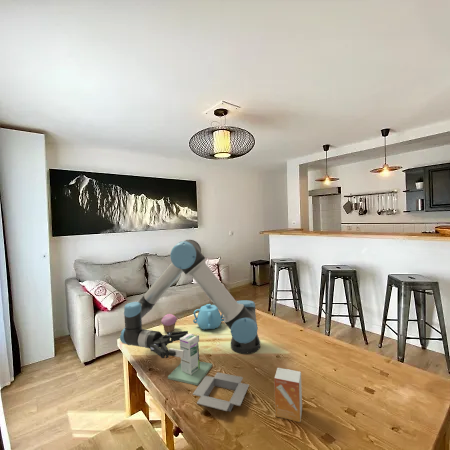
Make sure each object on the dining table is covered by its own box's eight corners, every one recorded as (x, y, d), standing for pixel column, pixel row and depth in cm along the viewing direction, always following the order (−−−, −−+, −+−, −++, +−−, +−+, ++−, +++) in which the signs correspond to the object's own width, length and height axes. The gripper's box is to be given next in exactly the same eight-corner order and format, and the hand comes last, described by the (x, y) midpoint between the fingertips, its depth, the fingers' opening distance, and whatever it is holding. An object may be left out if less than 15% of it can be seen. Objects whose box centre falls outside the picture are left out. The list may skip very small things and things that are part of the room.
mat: (185, 360, 117) (185, 358, 117) (212, 365, 112) (212, 363, 112) (167, 378, 104) (167, 376, 104) (197, 385, 99) (197, 383, 99)
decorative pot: (190, 327, 155) (189, 305, 154) (210, 318, 166) (209, 298, 166) (207, 334, 143) (206, 311, 143) (227, 325, 154) (226, 303, 154)
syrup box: (190, 375, 104) (189, 341, 104) (180, 371, 108) (179, 337, 107) (200, 368, 109) (198, 335, 108) (190, 364, 112) (188, 332, 112)
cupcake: (170, 326, 156) (169, 310, 156) (180, 329, 151) (179, 313, 151) (159, 332, 149) (158, 315, 149) (168, 335, 144) (168, 318, 144)
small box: (275, 417, 82) (273, 377, 82) (278, 403, 88) (277, 366, 88) (301, 423, 79) (299, 382, 79) (302, 408, 85) (301, 371, 85)
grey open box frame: (209, 377, 104) (209, 370, 104) (251, 386, 97) (251, 378, 97) (188, 409, 87) (187, 400, 87) (237, 422, 80) (236, 413, 80)
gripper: (166, 335, 127) (204, 341, 119) (132, 362, 104) (176, 371, 96) (166, 320, 127) (203, 325, 119) (131, 344, 104) (175, 352, 96)
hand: (191, 345), depth 107 cm, fingers open, 13 cm apart
